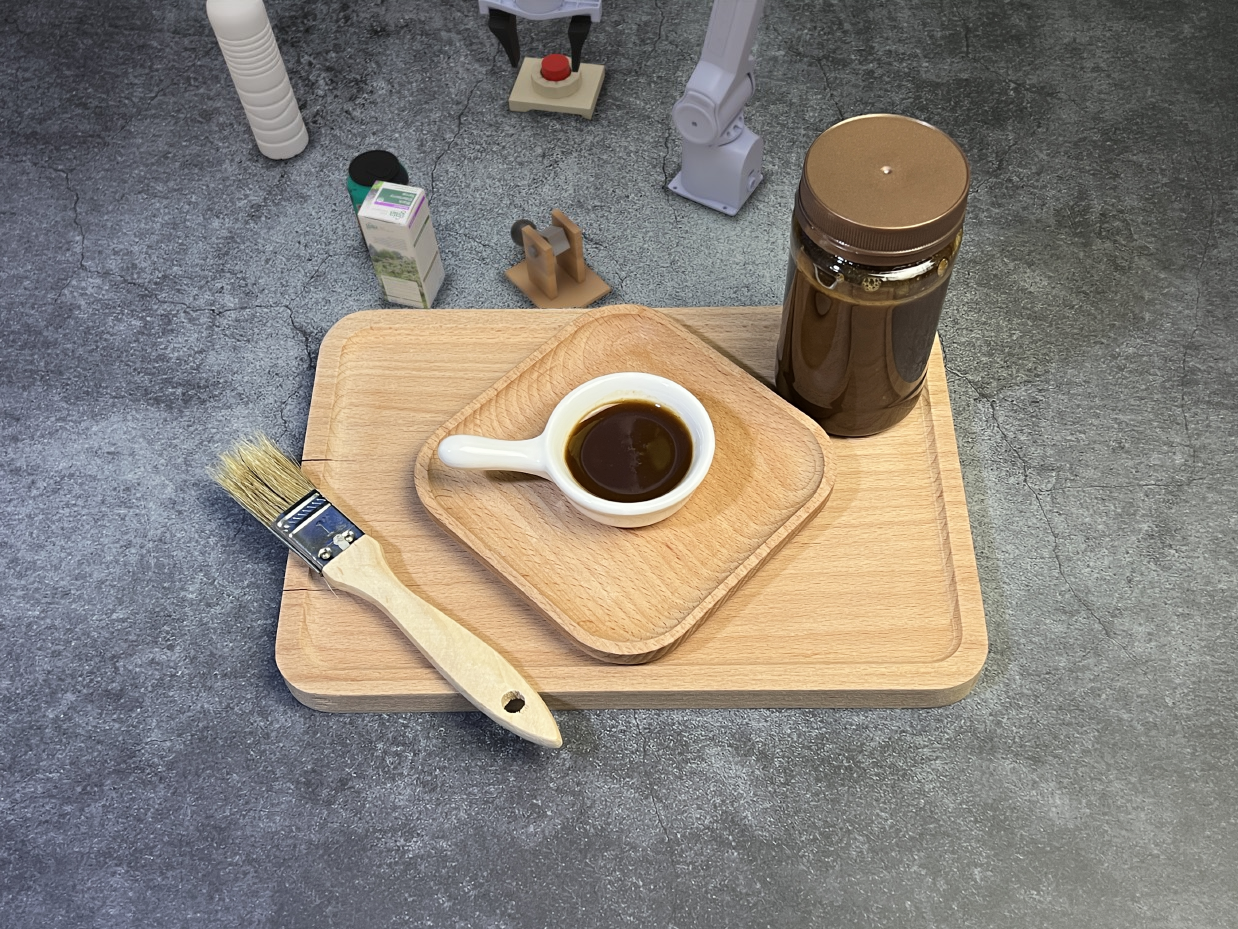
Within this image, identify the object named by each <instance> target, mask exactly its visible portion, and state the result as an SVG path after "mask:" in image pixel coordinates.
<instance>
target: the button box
mask: <svg viewBox="0 0 1238 929" xmlns="http://www.w3.org/2000/svg"><path fill="white" fill-rule="evenodd" d="M564 56H565V57H567V58H568V60H569V69H570V74H569V77H568V78H566V79H565V80H562V81H558V82H554V81H548V80H546V79H544V77H543V74H542V65H541V63H542V60H543V59H544V58H545V57H542V58H536V57H528V56H527V57H526V56H525V57H524V58H523V61H522V65H521V67H520V70H519V72H518V75H517V78H516V80H515V82H514V85H513V88H512V90H511V93H510V95H509V98H508V105H509V106H508V107H509V111H511V112H512V111H513V112H520V113H527V112H529V111H531V110H537V111H546V112H554V113H564V114H571V115H581V116H582V117H583V118H584V119H586V120H592V118H593V114H594V111H595V107H596V104H597V101H598V99H599V96H600V92H601V89H602V85H603V83H604V79H605V76H606V74H605V73H606V70H605V65H603V64H594V63H585V62H581V63H580V67H579V70H578V72H577V73H576V72H572V67H571V57H570V56H568V55H567V56H566V55H564Z"/></svg>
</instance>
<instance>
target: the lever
mask: <svg viewBox="0 0 1238 929" xmlns="http://www.w3.org/2000/svg"><path fill="white" fill-rule="evenodd" d="M527 225H530V226H531V227H532V228H533V229H534V230H535V231H536V232H537V233H538V234H539V235H540V236H541V237H542V238H543V239H545V240H546V241H547V242H548V243H549V244H550V245H551V246H552V249H553V256H557V255H558V254H560V253H562V252H563V251H565V250H567V249H569V248H570V245H569V243H568V240H567V238H566V235H565V233H564V230H563V228H560V227H556V226H552V224H551V225H549V226H546V227H545V228H543V229H542V230H538V228H537V225H536V224H535V223H534V222H533V221H531V220H530V219H526V218H520V219H517V220H516V221H515V222H514V223H513V224H512V225H511V227H510V230H509V234H510V238H511V241H512V242H513V243H514V244H515V245H516V246H518V247H520V248H524V242H523V235H522V228H524V227H526V226H527Z"/></svg>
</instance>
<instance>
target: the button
mask: <svg viewBox="0 0 1238 929" xmlns="http://www.w3.org/2000/svg"><path fill="white" fill-rule="evenodd" d="M565 56H566V55H564V54H561V53H552V54H548V55H546V56H545V57H543V58H544V59H543V60H542V63H541V65H542V74H543V77H544V79H546V80H548V81H554V82H558V81H562V80H565V79H566V78H568V77H569V74H570V69H569V60H568V58H567V57H568V56H567V57H565Z"/></svg>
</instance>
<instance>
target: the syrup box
mask: <svg viewBox="0 0 1238 929" xmlns="http://www.w3.org/2000/svg"><path fill="white" fill-rule="evenodd" d="M357 215H358V218H359V221H360V224H361V228H362V231H363V234H364V237H365V240H366V243H367V246H368V249H369V252H370V253H369V252H368V253H369V255H370V259H371V261H372V265H373V268H374V272H375V274H376V278H377V280H378V283H379V285H380V289H381V293H382V296H383V299H384V301H386V302H390V303H394V304H400V305H404V306H409V307H414V308H418V309H423V308H431V307H432V305H433V303H434V301H435V299H436V296H437V294H438V293H439V290H440V288H441V286H442V284H443V282H444V281H445V278H446V273H445V269H444V266H443V262H442V259H441V254H440V250H439V246H438V241H437V238H436V234H435V233H436V232H435V230H434V224H433V221H432V217H431V216H432V215H431V211H430V207H429V204H428V199H427V195H426V192H425V189H424V188H421V187H415V186H411V187H410V186H405V185H399V184H394V183H388V182H383V181H378V180H377V181H376V182H375V183H374V185H373V187H372V188H371V190H370V191H369V193H368V195H367V196H366V198H365V200H364V202H363V204H362V206H361V208H360V211H359V212H358V214H357Z"/></svg>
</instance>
